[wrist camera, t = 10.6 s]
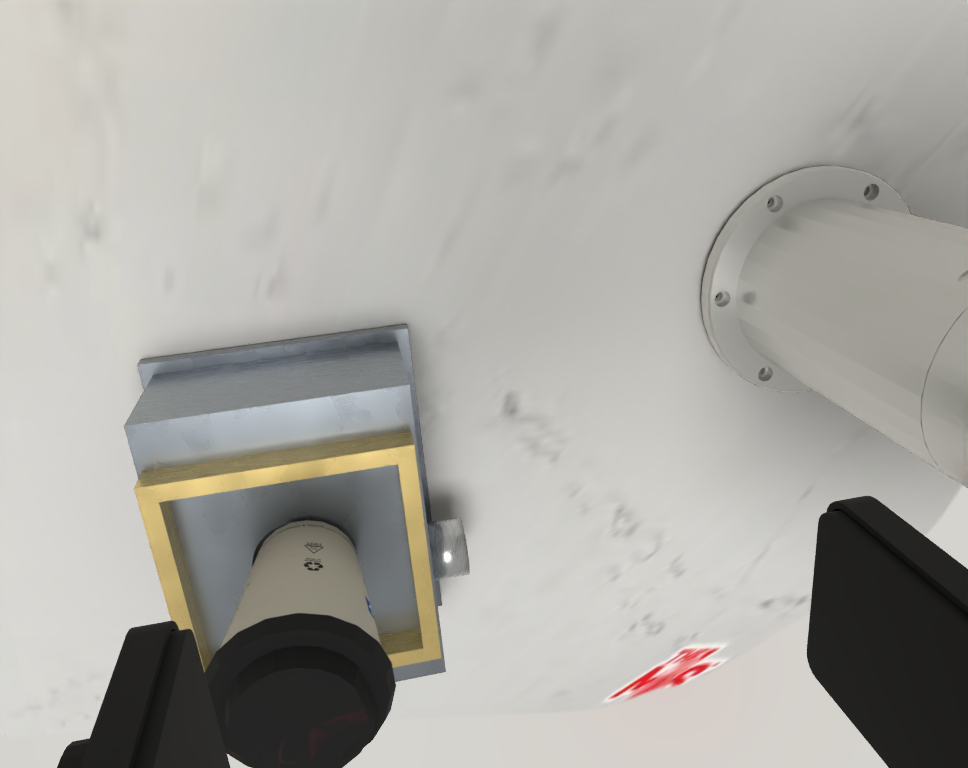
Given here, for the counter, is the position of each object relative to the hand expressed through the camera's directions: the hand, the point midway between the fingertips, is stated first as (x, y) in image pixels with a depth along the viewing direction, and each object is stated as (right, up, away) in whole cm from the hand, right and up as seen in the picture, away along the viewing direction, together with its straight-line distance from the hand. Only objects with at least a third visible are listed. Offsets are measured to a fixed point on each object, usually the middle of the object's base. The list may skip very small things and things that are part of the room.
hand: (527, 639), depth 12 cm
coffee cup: (-9, -5, +25) cm, 27 cm away
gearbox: (-10, -2, +32) cm, 34 cm away
